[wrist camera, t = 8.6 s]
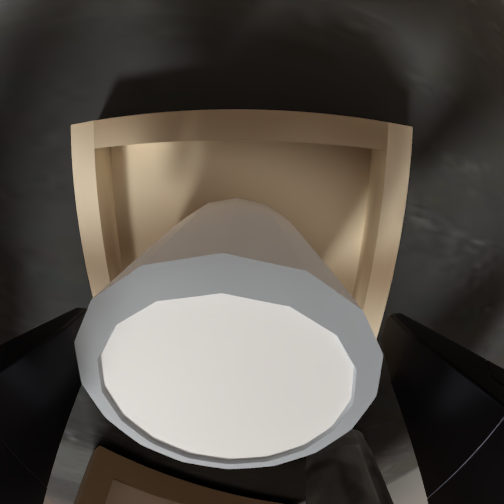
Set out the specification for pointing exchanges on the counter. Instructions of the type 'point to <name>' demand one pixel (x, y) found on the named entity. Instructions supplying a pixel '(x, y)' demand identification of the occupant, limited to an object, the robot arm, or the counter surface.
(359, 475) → the beverage cup
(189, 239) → the white tapered cup
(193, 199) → the birch tray
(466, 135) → the counter surface
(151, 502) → the photo frame
